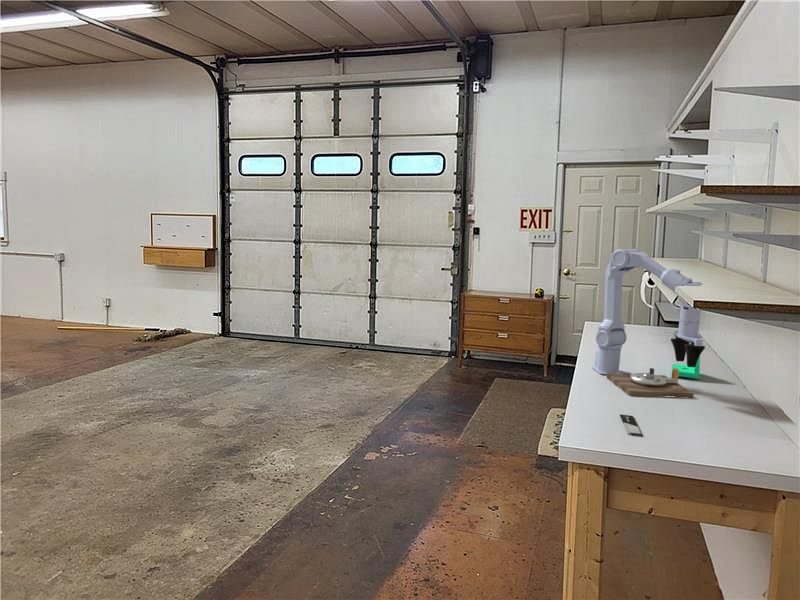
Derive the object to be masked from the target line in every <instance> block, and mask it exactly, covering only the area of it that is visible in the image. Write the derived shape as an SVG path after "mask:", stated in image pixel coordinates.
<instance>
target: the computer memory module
mask: <svg viewBox="0 0 800 600" xmlns="http://www.w3.org/2000/svg"><path fill="white" fill-rule="evenodd" d="M619 417H620V419H621V421H622V423H623V426H625V427H624V428H625V432H626V433H627V435H628V436H632V437H640V438H644V437H645V436H644V434H643V432H642V430H641V428H640V426H639V424H638V422H637V420H636V417H634V415H630V414H619Z"/></svg>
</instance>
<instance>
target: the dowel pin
mask: <svg viewBox="0 0 800 600" xmlns="http://www.w3.org/2000/svg"><path fill="white" fill-rule="evenodd" d="M648 373H650V374H654V375H655V368H653V367H652V368H651V367H650V368H649V372H648Z"/></svg>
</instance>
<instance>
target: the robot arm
mask: <svg viewBox="0 0 800 600" xmlns="http://www.w3.org/2000/svg"><path fill="white" fill-rule="evenodd" d="M640 267H641V268H643V269H644V270H646V271H647V272H649V273H651V274H653V275H655V276H656V277H658V278H659V279H660V280H661V284H662V285H663V286H664V287H666V288H668V289H670V290H671V291H672V292H674V293H675V294H677V293H676V292H675V287H676V286H700V285H704V284H703V283H702V282H701V281H695V282H694V280H693V278H691V277H687V276H685V275H684V274H682V273H681V270H679V269H678V268H677V269H676V268H675V269H673V268H671V269H667V268H666V267H665V266H663V265H662V264H660V263H659V262H658V261H656V260H655V259H654V258H652V257H650V256H649V255H648V254H647V252H644V251H642V250H641V249H638V248H631V249H629V248H626V249H625V248H618V249H616V250H614V251H613V252H612V253H611V254H610V255H609V262H608V265H607V266H606V270H605V283H604V284H605V287H604V309H603V310H604V311H603V313H604V314H603V321H602V322H601V323H600V324H599V325H598V329H597V332H596V335H595V342H596V344H597V346H598V347H597V348H596V350H595V359H594V365H593V366H591V368H592V369H593V370H595V371H596V372H597V373H598V374H599V375H607V373H614V374H623V372H621V371H620V362H621V352H622V348H623V345H624V344H625V343H626V341H627V333H626V329H625V326H626V325H624V323H623V322H622V320H621V318H622V316H621V315H622V297H623V296H622V295H623V277H624V275H626V274H627V273H629V271H631V270H634V269H636V268H640ZM677 295H678V294H677ZM678 298H679V300H680V311H679V320H678V321H679V322H678V330H674V332H673V333H674V335H673V338H670V341H671V343H672V347H673V350H674V354H675V355H674V356H675V361H676V362H684V361H685V358H686V365H687V367H695V366H696V363H697V361H698V358H699V356H700V357H701V354H702V352H704V350H706V346H705V345H703V343H704V342H703V341H704V340H703V339H702V338H703V336H702V335H701V334H700V332H699V331H700V325H701V324H700V322H701V313H702V309H701V310H698V309H695V308H693V307H691V306H690V305H688V304H687V303H686V302H685V301H684V300H683V299H682V298H681V297H680V296H679V295H678Z"/></svg>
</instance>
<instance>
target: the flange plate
mask: <svg viewBox="0 0 800 600" xmlns="http://www.w3.org/2000/svg"><path fill="white" fill-rule="evenodd" d="M630 374H631V375H630V380H631V381H633V382H635V383H638V384H642V385H648V386H664V385H666V384H667V383H678V384H679V377H680V376H679V369H676V368H673V369H672V368H671V377H668V378H665V377H661V376H658V375H659V374H655V373H654V374H650V373H649V372H635V373H634V372H633V373H630Z"/></svg>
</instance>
